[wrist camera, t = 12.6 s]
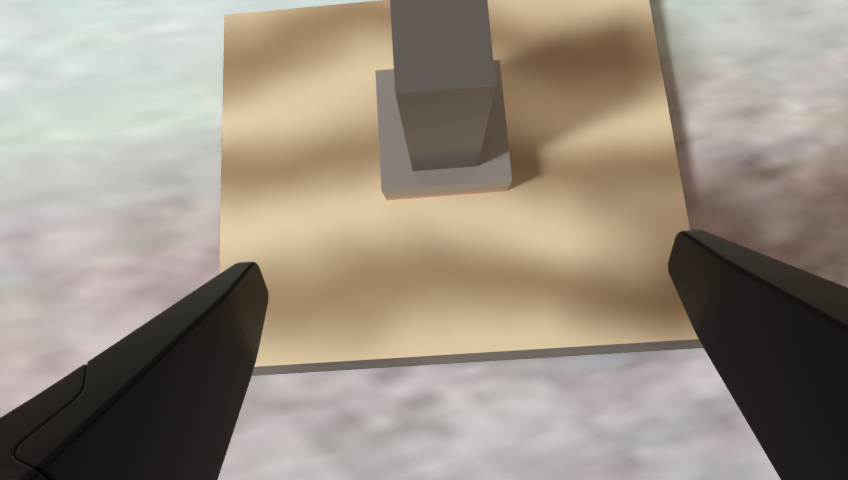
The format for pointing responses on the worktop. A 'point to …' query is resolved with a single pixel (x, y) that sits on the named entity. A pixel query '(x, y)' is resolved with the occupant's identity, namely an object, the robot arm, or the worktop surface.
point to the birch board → (455, 214)
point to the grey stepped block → (441, 103)
